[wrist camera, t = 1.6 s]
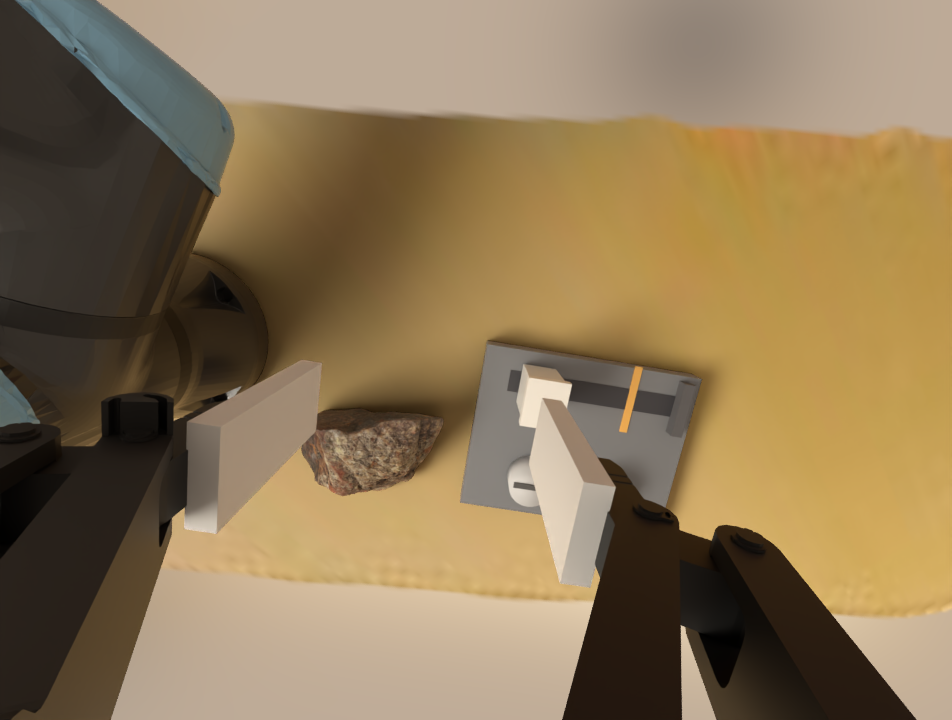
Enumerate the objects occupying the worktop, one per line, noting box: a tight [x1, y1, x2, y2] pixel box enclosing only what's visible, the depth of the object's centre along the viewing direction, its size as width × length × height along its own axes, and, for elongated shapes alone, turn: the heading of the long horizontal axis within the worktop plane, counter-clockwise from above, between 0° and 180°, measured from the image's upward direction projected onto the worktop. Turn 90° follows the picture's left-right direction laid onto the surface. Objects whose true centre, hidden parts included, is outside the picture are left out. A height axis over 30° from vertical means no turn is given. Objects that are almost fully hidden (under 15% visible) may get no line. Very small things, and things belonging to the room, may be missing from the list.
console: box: [460, 341, 702, 515], centre depth 41 cm, size 20×16×5 cm
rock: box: [301, 408, 443, 496], centre depth 40 cm, size 14×9×10 cm
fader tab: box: [516, 364, 572, 428], centre depth 37 cm, size 3×4×6 cm
